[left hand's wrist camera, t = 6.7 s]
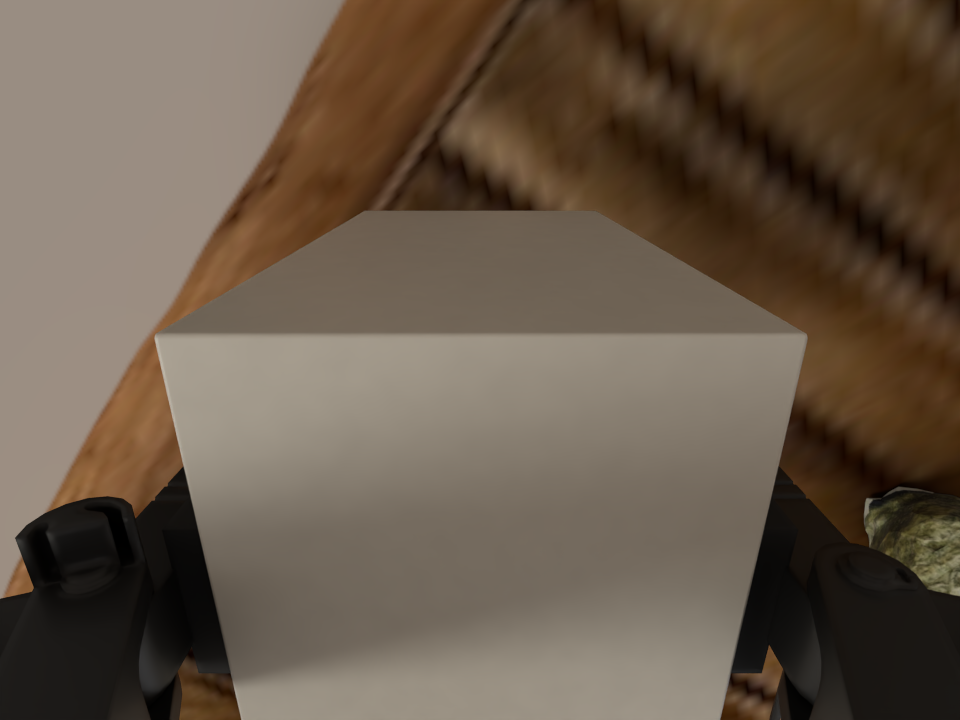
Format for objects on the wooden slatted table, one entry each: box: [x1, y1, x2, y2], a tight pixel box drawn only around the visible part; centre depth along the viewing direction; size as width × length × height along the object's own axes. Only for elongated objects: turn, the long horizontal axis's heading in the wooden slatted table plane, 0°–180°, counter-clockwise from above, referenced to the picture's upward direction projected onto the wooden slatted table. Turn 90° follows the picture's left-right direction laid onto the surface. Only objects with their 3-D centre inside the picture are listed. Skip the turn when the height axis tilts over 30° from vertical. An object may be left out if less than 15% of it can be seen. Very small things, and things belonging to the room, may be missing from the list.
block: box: [155, 211, 808, 720], centre depth 13 cm, size 9×7×12 cm
